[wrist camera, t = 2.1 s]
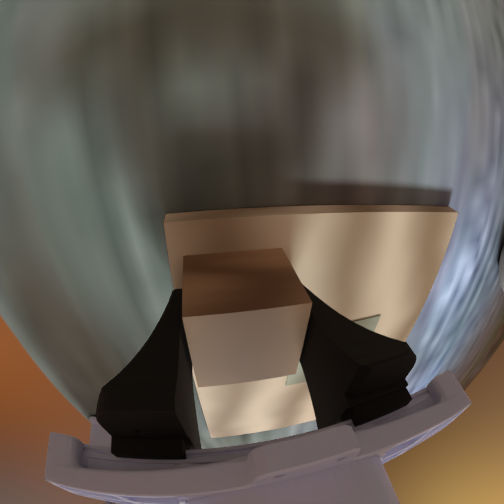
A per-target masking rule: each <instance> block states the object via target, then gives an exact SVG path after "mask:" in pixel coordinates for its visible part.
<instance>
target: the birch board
mask: <svg viewBox="0 0 504 504" xmlns="http://www.w3.org/2000/svg"><path fill="white" fill-rule="evenodd" d="M457 215H458V212H457V211H455V210H453V209H452V208H450V207H447V206H417V205H314V206H282V207H259V208H240V209H223V210H208V211H194V212H182V213H170V214H166V215H165V219H164V230H165V237H166V244H167V251H168V257H169V264H170V270H171V276H172V281H173V287H174V289H182V286H183V256H186V255H199V254H211V253H224V252H236V251H249V250H261V249H274V248H282V249H283V251H284V252H285V254H286V256H287V258H288V260H289V261H290V263H291V265H292V267H293V268H294V270H295V272H296V274H297V276H298V277H299V279H300V281H301V283H302V284H303V285H304V286H305V287H306V288H308V289H309V290H310V291H311V292H312V293H313V294H315V295H316V296H317V297H318V298H319V299H321V300H322V301H323V302H325V303H326V304H327V305H328V306H330V307H331V308H333V309H334V310H335V311H337V312H338V313H340V314H341V315H343V316H345V317H346V318H348V319H350V320H351V321H353V322H355V323H357V324H359V325H361V326H363V327H365V328H367V329H369V330H371V331H373V332H376V333H378V334H381V335H384V336H386V337H389V338H393V339H396V340H400V341H403V342H405V341H406V339H407V337H408V335H409V334H410V332H411V330H412V328H413V326H414V324H415V322H416V320H417V318H418V316H419V314H420V312H421V310H422V308H423V306H424V304H425V301H426V299H427V297H428V295H429V293H430V290H431V288H432V286H433V283H434V281H435V278H436V276H437V274H438V271H439V268H440V266H441V263H442V261H443V258H444V255H445V252H446V250H447V247H448V244H449V241H450V238H451V235H452V232H453V229H454V225H455V222H456V219H457ZM192 374H193V378H194V381H195V385H196V389H197V392H198V396H199V399H200V403H201V406H202V410H203V413H204V416H205V420H206V423H207V426H208V429H209V432H210V436H211V438H215V437H225V436H233V435H241V434H248V433H255V432H261V431H267V430H272V429H277V428H282V427H287V426H291V425H296V424H300V423H304V422H308V421H312V420H316V417H315V413H314V409H313V405H312V401H311V397H310V393H309V389H308V386H307V382H306V379H305V376H304V372H303V369H302V366H301V364H300V361H299V363H298V367H297V371H296V374H293V375H288V376H282V377H277V378H271V379H265V380H259V381H252V382H245V383H237V384H229V385H219V386H209V387H198V385H197V381H196V377H195V373H194V369H192Z"/></svg>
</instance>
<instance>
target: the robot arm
mask: <svg viewBox="0 0 504 504" xmlns="http://www.w3.org/2000/svg"><path fill="white" fill-rule="evenodd" d="M302 285H303V284H302ZM303 286H304V285H303ZM304 288H305V290H306V292H307V294H308V296H309V297H310V299H311V301H312V307H311V312H310V316H309V321H308V325H307V330H306V334H305V339H304V343H303V347H302V351H301V355H300V359H299V361H300V364H301V366H302V369H303V372H304V376H305V379H306V382H307V386H308V389H309V393H310V397H311V401H312V405H313V409H314V413H315V417H316V422H317V427H318V430H314V431H310V432H306V433H302V434H298V435H294V436H289V437H285V438H280V439H275V440H270V441H264V442H259V443H252V444H246V445H239V446H231V447H221V448H210V449H201V443H200V437H199V431H198V424H197V417H196V409H195V401H194V392H193V379H192V369H193V364H192V360H191V356H190V352H189V347H188V343H187V338H186V333H185V329H184V324H183V319H182V289H174V290H173V291H172V294H171V297H170V299H169V302H168V304H167V306H166V308H165V311H164V312H163V314H162V316H161V318H160V320H159V322H158V324H157V326H156V327H155V329H154V331H153V332H152V334H151V336H150V337H149V339H148V340H147V342H146V343H145V344H144V346H143V347H142V348H141V350H140V351H139V352H138V353H137V355H136V356H135V357H134V358H133V359H132V361H131V362H130V363H129V364H128V365H127V366H126V367H125V368H124V369H123V370H122V371H121V372H120V373H119V374H118V375H117V376H116V377H114V378H113V379H112V380H111V381H110V382H108V383H107V384H106V385H105V386H103V387H102V389H101V392H100V395H99V399H98V404H97V411H96V417H89V421H90V422H91V423H92V426H91V435H90V445H87V444H83V443H82V442H81V441H80V440H79V439H77V438H75V437H73V436H69V435H64V434H59V433H54V432H51V433H50V439H49V445H48V453H47V461H46V472H45V480H46V481H48V482H50V483H52V484H54V485H56V486H58V487H60V488H63V489H65V490H67V491H70V492H72V493H75V494H77V495H82V496H86V497H90V498H95V499H100V500H105V501H106V503H104V504H112V502H113V504H400V503H399V500H398V498H397V496H396V493H395V491H394V489H393V487H392V484H391V482H390V480H389V477H388V475H387V473H386V471H385V468H384V466H383V463H385V462H387V461H389V460H391V459H393V458H395V457H397V456H399V455H401V454H402V453H404V452H406V451H407V450H409V449H411V448H413V447H414V446H416V445H418V444H420V443H421V442H423V441H424V440H426V439H428V438H429V437H431V436H432V435H434V434H435V433H437V432H439V431H440V430H442V429H443V428H444V427H446V426H447V425H448V424H449V423H451V422H452V421H453V420H454V419H455V418H456V417H457V416H459V415H460V414H461V413H462V412H463V411H464V410H465V409H466V408H467V407H468V406H469V405H470V404H471V401H470V399H469V398H468V396H467V394H466V393H465V392H464V390H463V388H462V387H461V385H460V384H459V383H458V381H457V380H456V378H455V377H454V375H453V374H452V372H451V371H450V370H447V371H445V372H444V373H442V374H440V375H438V376H436V377H435V378H434V379H432V380H431V381H430V383H429V384H428V385H427V387H426V388H424V389H422V390H420V391H418V392H416V393H414V394H412V395H410V394H409V392H408V390H407V389H406V387H407V385H408V383H407V381H406V380H405V378H406V376H407V375H408V374H409V372H410V371H411V369H412V368H413V366H414V364H415V362H416V355H415V354H414V352H413V351H412V349H411V348H410V347H409V345H408V344H407V343H406V342H403V341H400V340H396V339H393V338H389V337H386V336H384V335H381V334H378V333H376V332H373V331H371V330H369V329H367V328H365V327H363V326H361V325H359V324H357V323H355V322H353V321H351V320H350V319H348V318H346V317H345V316H343V315H341V314H340V313H338V312H337V311H335V310H334V309H333V308H331V307H330V306H328V305H327V304H326V303H325V302H323V301H322V300H321V299H319V298H318V297H317V296H316V295H315V294H313V293H312V292H311V291H310V290H309V289H308V288H306V287H305V286H304ZM109 501H110V502H109Z"/></svg>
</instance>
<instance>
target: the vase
mask: <svg viewBox="0 0 504 504" xmlns="http://www.w3.org/2000/svg"><path fill="white" fill-rule="evenodd" d="M499 279H500V283H501V287H502V290H503V292H504V246H503V248H502V251H501V255H500V260H499Z"/></svg>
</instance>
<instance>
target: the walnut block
mask: <svg viewBox="0 0 504 504" xmlns="http://www.w3.org/2000/svg"><path fill="white" fill-rule="evenodd" d="M311 307H312V301H311V299H310V297H309V296H308V294H307V292H306V290H305V288H304V286H303V285H302V283H301V281H300V279H299V277H298V276H297V274H296V272H295V270H294V268H293V267H292V265H291V263H290V261H289V260H288V258H287V256H286V254H285V252H284V251H283V249H282V248H274V249H261V250H249V251H236V252H224V253H211V254H199V255H186V256H183V286H182V319H183V324H184V329H185V333H186V338H187V343H188V347H189V352H190V356H191V360H192V364H193V369H194V373H195V377H196V381H197V385H198V387H209V386H219V385H229V384H237V383H245V382H252V381H259V380H265V379H271V378H277V377H282V376H288V375H293V374H296V371H297V367H298V363H299V359H300V355H301V351H302V347H303V343H304V339H305V334H306V330H307V325H308V321H309V316H310V312H311Z"/></svg>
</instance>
